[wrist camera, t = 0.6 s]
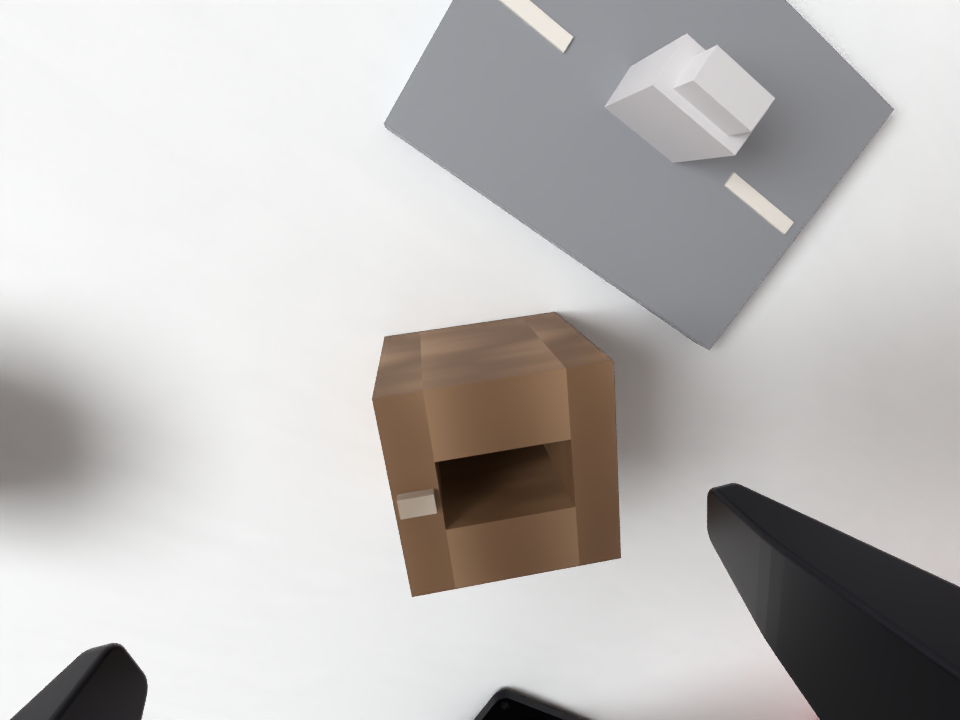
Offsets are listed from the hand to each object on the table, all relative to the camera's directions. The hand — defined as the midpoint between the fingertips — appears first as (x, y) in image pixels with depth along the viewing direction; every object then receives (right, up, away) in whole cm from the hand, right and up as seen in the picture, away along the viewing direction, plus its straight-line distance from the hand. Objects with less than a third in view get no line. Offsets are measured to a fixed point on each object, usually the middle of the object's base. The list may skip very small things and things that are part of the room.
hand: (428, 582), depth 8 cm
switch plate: (+6, +12, +10) cm, 16 cm away
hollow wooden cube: (+1, +2, +12) cm, 12 cm away
